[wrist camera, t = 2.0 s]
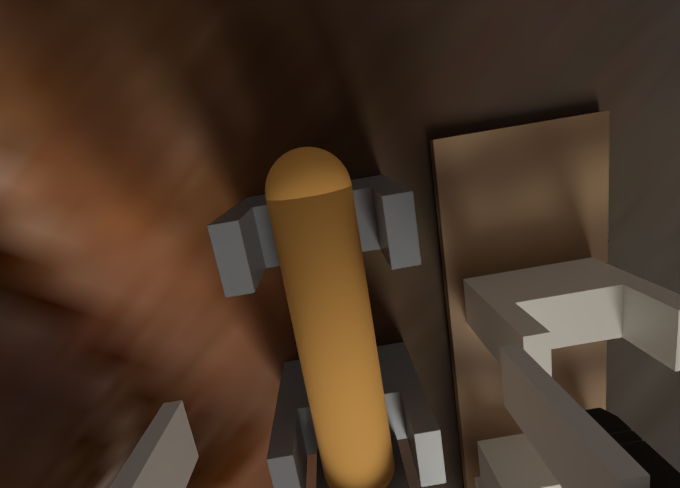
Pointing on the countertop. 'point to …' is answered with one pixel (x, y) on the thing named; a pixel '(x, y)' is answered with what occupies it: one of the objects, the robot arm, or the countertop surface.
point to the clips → (562, 336)
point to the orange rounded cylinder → (332, 319)
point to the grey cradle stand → (395, 363)
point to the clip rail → (518, 248)
